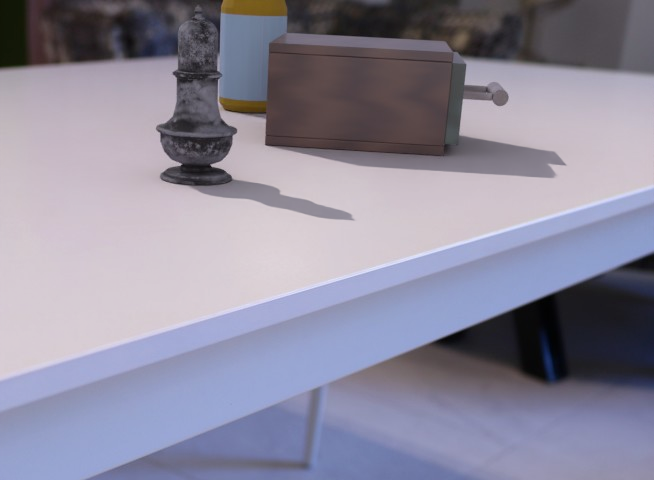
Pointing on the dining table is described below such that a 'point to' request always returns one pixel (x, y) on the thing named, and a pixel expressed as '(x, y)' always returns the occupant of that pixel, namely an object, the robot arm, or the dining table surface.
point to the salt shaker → (196, 110)
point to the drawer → (467, 97)
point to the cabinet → (358, 93)
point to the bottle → (248, 51)
